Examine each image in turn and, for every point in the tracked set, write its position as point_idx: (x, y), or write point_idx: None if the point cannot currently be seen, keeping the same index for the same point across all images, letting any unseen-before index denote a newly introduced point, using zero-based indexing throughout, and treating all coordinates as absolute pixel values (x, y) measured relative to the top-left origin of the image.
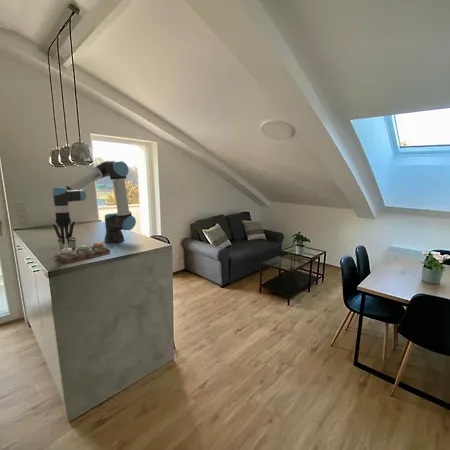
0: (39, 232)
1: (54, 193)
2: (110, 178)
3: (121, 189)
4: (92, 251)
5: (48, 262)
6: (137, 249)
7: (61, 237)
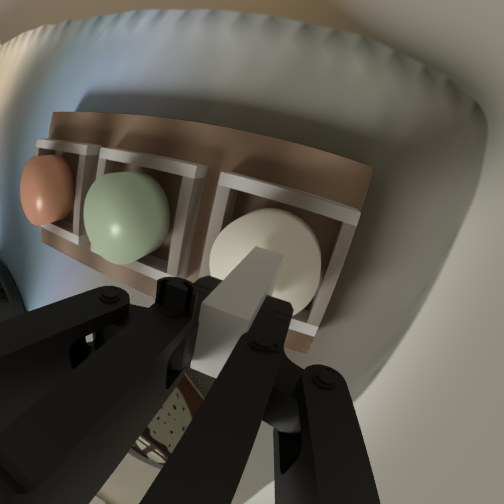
0: None
1: None
2: None
3: None
4: (116, 147)
5: (387, 314)
6: (19, 76)
7: (287, 382)
